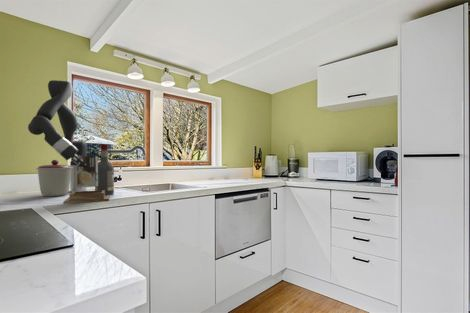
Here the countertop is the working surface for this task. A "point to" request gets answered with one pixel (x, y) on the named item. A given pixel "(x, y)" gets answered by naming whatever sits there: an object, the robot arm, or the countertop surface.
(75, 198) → the walnut caddy
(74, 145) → the robot arm
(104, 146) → the liquor
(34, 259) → the countertop surface
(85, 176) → the coffee box
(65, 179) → the canister
